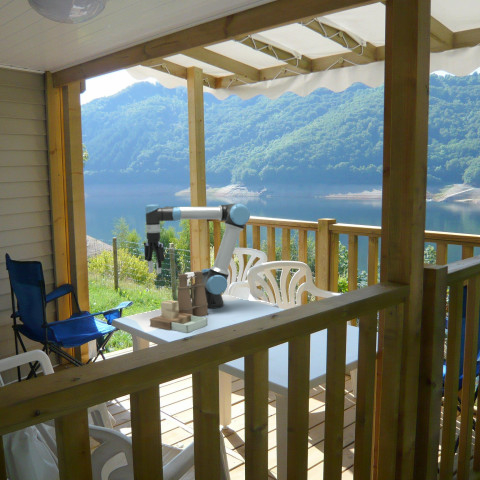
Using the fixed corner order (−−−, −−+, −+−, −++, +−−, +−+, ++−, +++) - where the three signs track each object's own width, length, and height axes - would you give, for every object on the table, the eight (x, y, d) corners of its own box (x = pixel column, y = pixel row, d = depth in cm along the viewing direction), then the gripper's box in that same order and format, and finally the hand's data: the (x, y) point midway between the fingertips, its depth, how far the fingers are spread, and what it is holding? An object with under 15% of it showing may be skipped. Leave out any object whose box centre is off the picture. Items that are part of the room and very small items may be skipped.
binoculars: (182, 322, 274) (181, 277, 272) (172, 319, 282) (170, 274, 279) (212, 314, 288) (210, 271, 286) (201, 311, 296) (199, 269, 293)
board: (173, 318, 281) (173, 311, 281) (192, 321, 273) (192, 314, 273) (150, 326, 266) (150, 318, 266) (169, 330, 258) (169, 322, 258)
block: (169, 314, 274) (168, 299, 273) (178, 316, 270) (178, 301, 269) (161, 316, 269) (160, 302, 269) (171, 318, 265) (170, 303, 265)
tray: (191, 322, 272) (191, 315, 272) (207, 325, 266) (207, 318, 265) (171, 329, 259) (171, 322, 259) (187, 332, 253) (187, 325, 252)
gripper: (136, 232, 284) (138, 272, 287) (160, 233, 273) (162, 275, 276) (146, 230, 290) (147, 270, 293) (170, 232, 279) (171, 273, 282)
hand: (154, 272), depth 284 cm, fingers open, 6 cm apart
